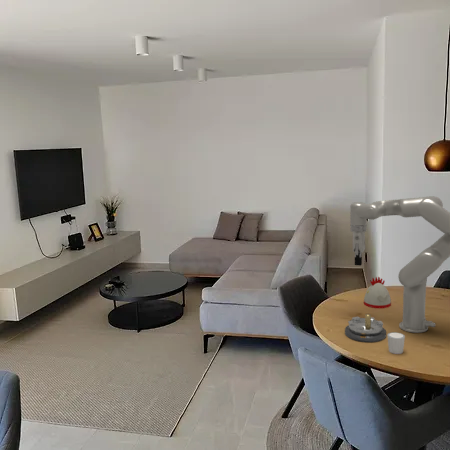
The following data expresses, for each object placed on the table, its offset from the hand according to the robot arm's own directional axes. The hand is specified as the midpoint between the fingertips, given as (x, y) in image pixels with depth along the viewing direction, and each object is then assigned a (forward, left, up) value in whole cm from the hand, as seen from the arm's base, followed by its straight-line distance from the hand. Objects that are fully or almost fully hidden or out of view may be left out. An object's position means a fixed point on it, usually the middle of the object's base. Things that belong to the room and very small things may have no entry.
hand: (358, 264), depth 236 cm
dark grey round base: (-6, +20, -27) cm, 34 cm away
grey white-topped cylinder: (-20, +34, -27) cm, 48 cm away
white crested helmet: (-7, -23, -27) cm, 36 cm away
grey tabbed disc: (-6, +20, -25) cm, 32 cm away
